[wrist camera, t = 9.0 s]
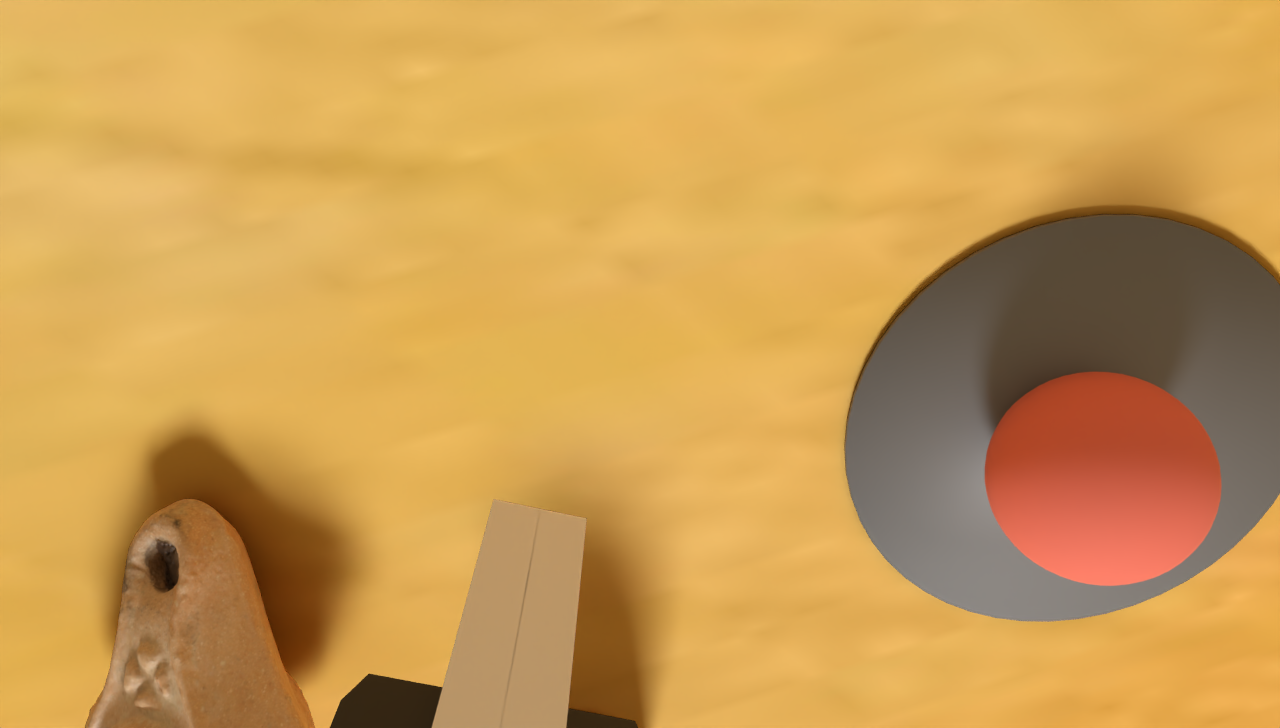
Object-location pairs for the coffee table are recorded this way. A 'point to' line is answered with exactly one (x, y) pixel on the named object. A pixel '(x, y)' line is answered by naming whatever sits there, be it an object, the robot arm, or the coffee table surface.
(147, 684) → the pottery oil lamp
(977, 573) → the disc
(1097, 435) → the ball
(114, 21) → the coffee table surface
